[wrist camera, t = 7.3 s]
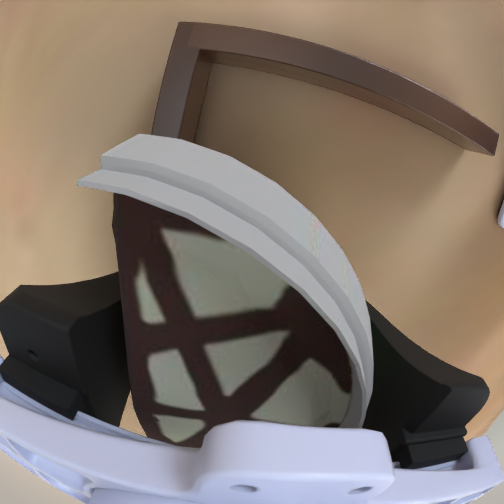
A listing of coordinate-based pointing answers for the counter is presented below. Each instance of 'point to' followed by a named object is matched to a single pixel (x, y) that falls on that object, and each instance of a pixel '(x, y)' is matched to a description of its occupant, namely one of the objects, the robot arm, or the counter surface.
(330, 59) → the brown frame
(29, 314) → the robot arm
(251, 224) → the food container
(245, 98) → the counter surface
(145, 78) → the counter surface
